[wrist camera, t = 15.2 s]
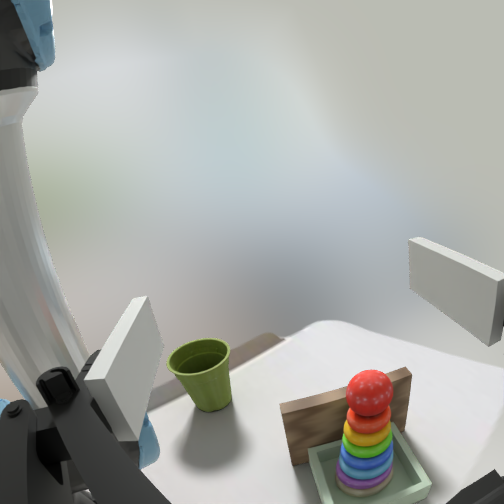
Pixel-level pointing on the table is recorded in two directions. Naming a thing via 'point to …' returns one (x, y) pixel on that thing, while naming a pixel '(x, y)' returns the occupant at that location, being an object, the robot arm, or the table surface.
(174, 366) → the plant pot
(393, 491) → the mint green square tray
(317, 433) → the backstop wall
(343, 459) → the stacking toy
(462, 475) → the table surface
